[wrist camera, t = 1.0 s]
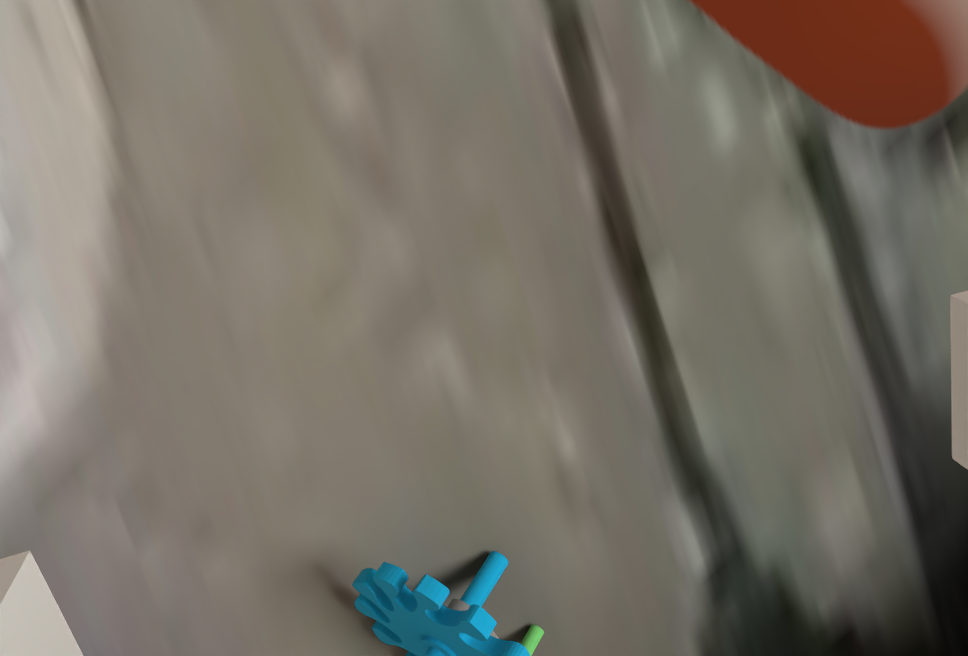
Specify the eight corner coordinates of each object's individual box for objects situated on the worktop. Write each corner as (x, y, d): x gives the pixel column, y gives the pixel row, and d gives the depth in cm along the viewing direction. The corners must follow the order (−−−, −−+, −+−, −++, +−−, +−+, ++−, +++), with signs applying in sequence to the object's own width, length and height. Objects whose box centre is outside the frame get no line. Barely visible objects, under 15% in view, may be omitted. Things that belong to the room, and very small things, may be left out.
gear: (307, 577, 40) (447, 603, 33) (380, 484, 44) (522, 489, 37) (434, 718, 45) (583, 769, 37) (492, 623, 48) (638, 652, 41)
